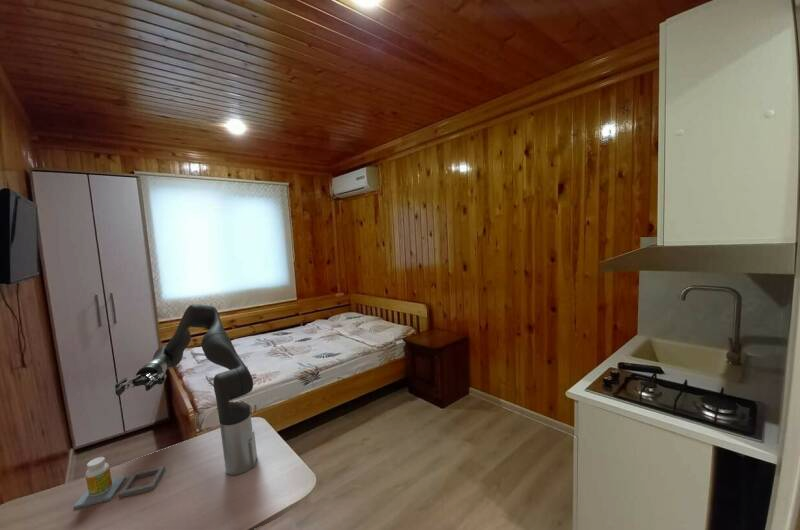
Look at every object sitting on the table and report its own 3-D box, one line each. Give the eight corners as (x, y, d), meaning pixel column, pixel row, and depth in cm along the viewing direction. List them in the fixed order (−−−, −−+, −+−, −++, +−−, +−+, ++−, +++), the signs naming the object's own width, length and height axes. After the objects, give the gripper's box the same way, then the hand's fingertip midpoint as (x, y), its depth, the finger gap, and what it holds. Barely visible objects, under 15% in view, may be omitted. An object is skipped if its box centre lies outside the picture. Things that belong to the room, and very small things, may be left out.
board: (126, 478, 106) (125, 475, 106) (111, 499, 97) (110, 497, 97) (92, 485, 103) (92, 483, 103) (73, 508, 95) (73, 506, 94)
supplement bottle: (98, 498, 97) (92, 468, 96) (84, 496, 98) (78, 466, 97) (117, 484, 102) (112, 455, 101) (103, 482, 103) (98, 454, 102)
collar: (165, 469, 109) (164, 466, 109) (153, 489, 100) (153, 485, 100) (133, 476, 106) (133, 473, 106) (119, 497, 98) (118, 494, 98)
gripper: (129, 365, 126) (105, 384, 110) (171, 359, 130) (154, 376, 115) (132, 384, 127) (109, 405, 111) (174, 377, 131) (157, 396, 115)
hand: (132, 390), depth 113 cm, fingers open, 8 cm apart
